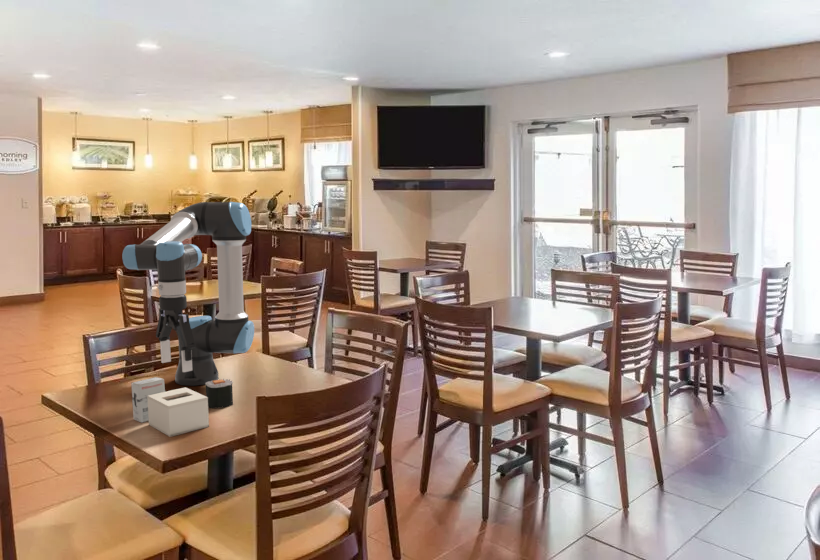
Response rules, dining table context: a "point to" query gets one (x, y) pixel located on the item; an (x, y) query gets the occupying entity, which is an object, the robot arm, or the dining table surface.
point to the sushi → (219, 393)
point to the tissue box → (178, 411)
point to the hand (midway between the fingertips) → (176, 366)
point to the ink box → (144, 396)
